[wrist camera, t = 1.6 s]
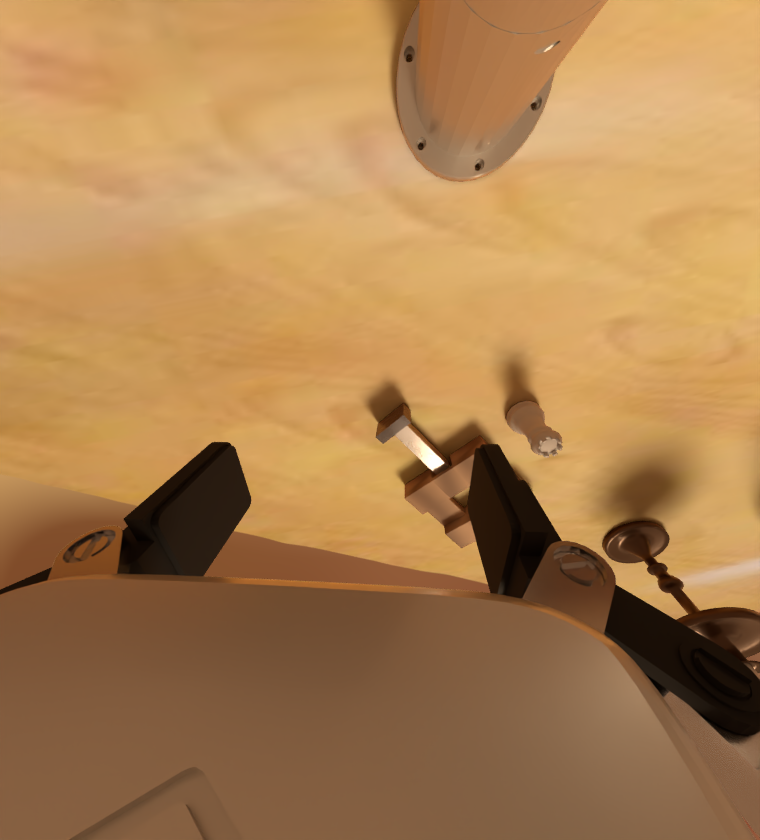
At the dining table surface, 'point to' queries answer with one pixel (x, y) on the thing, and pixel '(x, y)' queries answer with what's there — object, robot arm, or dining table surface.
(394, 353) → the dining table surface
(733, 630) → the candlestick
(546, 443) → the rook chess piece
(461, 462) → the mount
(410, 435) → the lock pin
